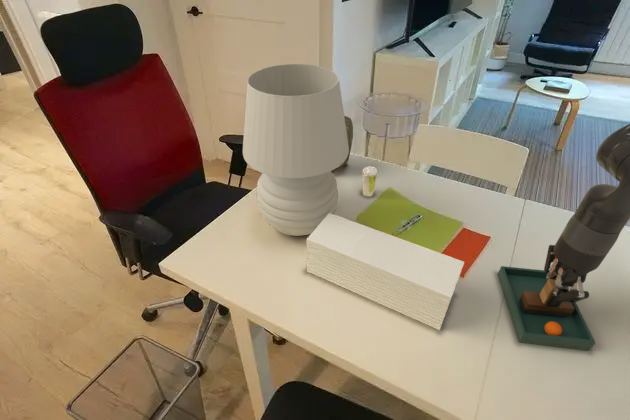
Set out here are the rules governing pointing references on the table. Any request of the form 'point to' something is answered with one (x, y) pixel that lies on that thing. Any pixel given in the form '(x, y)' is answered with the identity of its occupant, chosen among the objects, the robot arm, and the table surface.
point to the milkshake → (369, 180)
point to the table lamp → (295, 143)
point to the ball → (553, 328)
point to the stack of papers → (384, 268)
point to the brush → (544, 302)
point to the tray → (532, 324)
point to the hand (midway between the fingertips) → (548, 299)
